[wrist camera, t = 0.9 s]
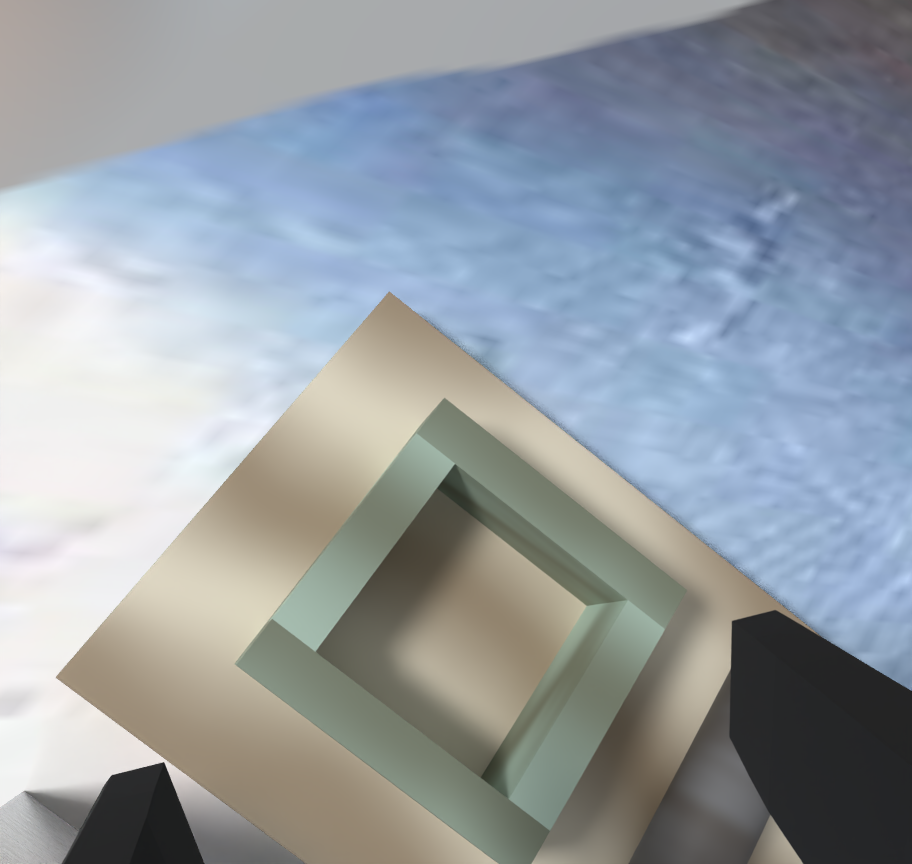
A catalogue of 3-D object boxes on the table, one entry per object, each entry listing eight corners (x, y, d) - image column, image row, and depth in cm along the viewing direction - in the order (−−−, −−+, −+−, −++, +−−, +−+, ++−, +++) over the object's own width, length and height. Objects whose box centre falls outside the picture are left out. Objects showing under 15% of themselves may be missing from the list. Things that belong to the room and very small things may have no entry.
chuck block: (687, 1139, 22) (784, 1237, 18) (66, 676, 21) (33, 680, 17) (877, 708, 27) (986, 716, 23) (379, 311, 25) (407, 252, 22)
